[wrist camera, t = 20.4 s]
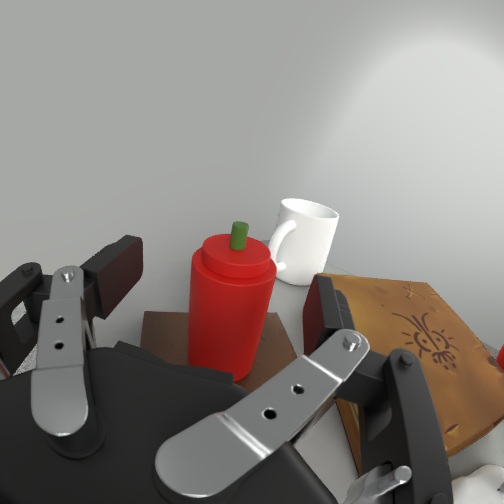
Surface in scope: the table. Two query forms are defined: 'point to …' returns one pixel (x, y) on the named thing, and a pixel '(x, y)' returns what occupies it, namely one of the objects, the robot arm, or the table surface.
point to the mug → (302, 240)
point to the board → (176, 345)
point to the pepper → (229, 301)
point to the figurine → (480, 486)
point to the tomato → (501, 358)
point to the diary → (426, 356)
